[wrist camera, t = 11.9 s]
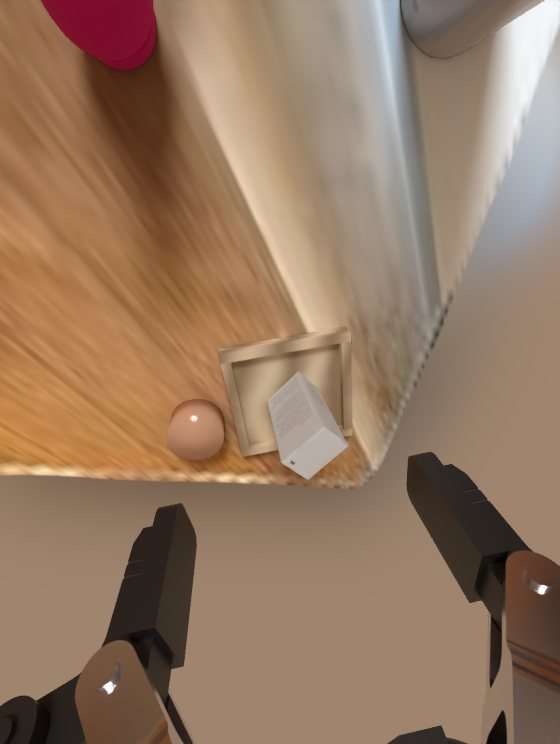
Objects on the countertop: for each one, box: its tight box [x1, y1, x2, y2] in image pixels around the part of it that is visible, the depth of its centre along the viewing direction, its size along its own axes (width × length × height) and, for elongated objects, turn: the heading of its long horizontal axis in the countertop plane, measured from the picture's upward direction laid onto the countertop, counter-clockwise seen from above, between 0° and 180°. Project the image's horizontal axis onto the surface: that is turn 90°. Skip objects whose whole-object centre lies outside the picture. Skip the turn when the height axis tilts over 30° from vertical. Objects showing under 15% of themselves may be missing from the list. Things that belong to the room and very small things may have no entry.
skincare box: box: [267, 372, 348, 480], centre depth 38 cm, size 6×4×12 cm
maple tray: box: [219, 327, 352, 457], centre depth 43 cm, size 16×16×2 cm
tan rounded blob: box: [166, 399, 224, 461], centre depth 42 cm, size 7×7×4 cm
